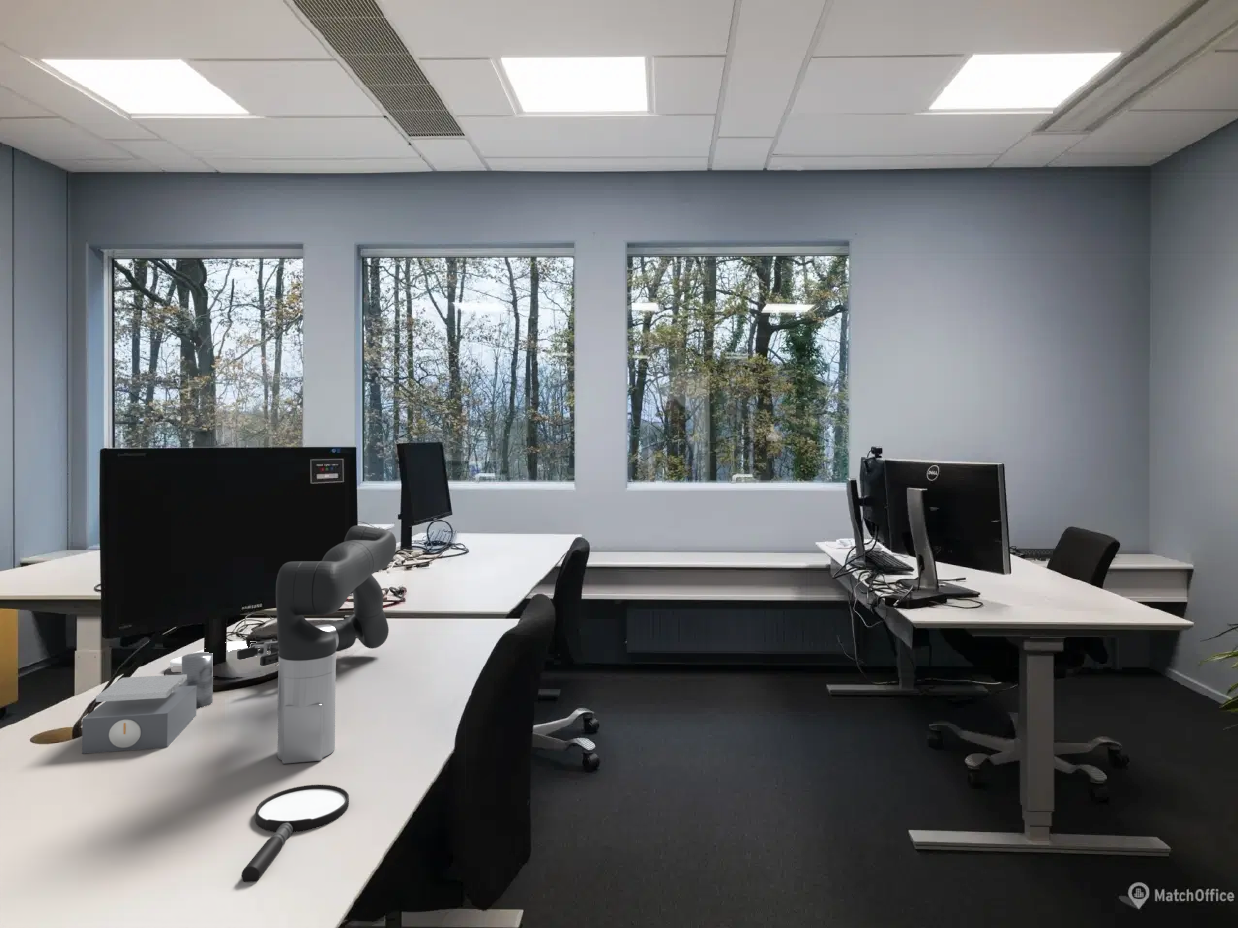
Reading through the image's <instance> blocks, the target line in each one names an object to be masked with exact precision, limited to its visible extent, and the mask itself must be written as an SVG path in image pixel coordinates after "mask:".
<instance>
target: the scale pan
mask: <svg viewBox="0 0 1238 928" xmlns="http://www.w3.org/2000/svg"><path fill="white" fill-rule="evenodd" d="M186 680H187V674H183V675H182V674H168V675H167V674H166V675H150V676H147V675H146V676H135V677H134V676H131V677H129V676H126V677H121V678H120V679H119V680H117V681H116V682H114V683H112V684H111V685H110V686H108V687H107V688H106V689H104V690H103V691H101V692H100V693H98V694H97V695H96V696H95V703H99V702H101V703H102V702H103V703H104V702H106V701H121V700H137V699H154V698H167V697H168V696H169V695H170V694H171V693H172V692H173V691H175V690H176V689H177V688H178V687H179V686H181V684H182V683H183V682H185V681H186Z"/></svg>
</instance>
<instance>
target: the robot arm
mask: <svg viewBox="0 0 1238 928" xmlns="http://www.w3.org/2000/svg"><path fill="white" fill-rule="evenodd" d="M396 551H397V539H396V537H395V535H394V533H393V532H392V531H390V530H388V529H384V528H379V527H373V526H368V525H367V526H366V525H356V524H355V525H352V526H351V527H350V528H349V529H348V530H347V533H346V535H345V537H344V540H343V542H341V543H338V544H337V545H335V546H333V547H331V548H330V549H329V550H328V551H327V552H326V553H325V554H324V556H323V558H322V559H321V560H320V561H314V560H313V561H307V560H306V561H305V560H304V561H303V560H301V561H298V560H297V561H296V560H295V561H287V562H285V563H284V564H282V566H281V567H280V568H279V570H278V573H277V575H276V577H277V578H276V581H275V607H276V608H275V609H276V623H277V624H276V628H277V629H276V631H277V632H276V638H277V640H276V638H271V639H266V640H260V641H255V642H256V643H251V644H250V647H249V648H245V649H241V650H238V651H237V659H238V660H243V659H247V658H251V657H257V656H261V657H260V666H263V667H264V666H267V665H271V664H275V663H277V662H278V663H279V664H278V665H277V666H278V673H277V674H278V677H277V679H278V680H277V750H276V751H277V755H276V756H277V758H278V759H279V760H281V763H282V764H283V765H284V764H297V763H306V762H308V763H309V762H317V761H318V762H319V761H322V760H323V758H325V757H327V756H329V755H331V754H332V753H333V752H334V751H335V748H336V689H337V688H336V685H337V684H336V681H337V677H336V676H337V675H336V674H337V673H336V672H337V671H336V669H337V652H339V651H343V650H347V649H349V648H351V647H352V646H353V645H354V644H355V642H356V639H358V640H359V642H360V643H361V644H362V645H363V646H364V647H366V648H368V649H377V648H379V647H381V646H382V645H384V643H385V642H386V640H387V639H388V637H389V624H388V620H387V617H386V614H385V612H384V611H385V610H384V592H383V589H382V587H381V585H380V583H379V582H378V581H377V578H375V577H374V576H373V575H374V574H375V573H376V572H380V571H382V570H384V569H386V568H387V567H388V566H389V565H390V564H391V562H392V561H393V559H394V556H395V554H396ZM351 594H352V597H353V599H352V600H353V613H352V614H350V615H349V616H347V617H346V618H344V619H342V620H340V621H336V622H331V623H327V624H319V625H318V624H317V625H313V624H311V623H310V622H309V621H308V620H307V619H306V618H305V616H326V615H330V614H331V615H332V614H334V613H336V612H337V611H339V610H340V609H341V608H342V607H343V606H344V604H345V603H346V601H347V600H348V598H349V597H350V595H351ZM258 648H260V649H259V650H258ZM268 651H270V654H268V653H267V652H268Z"/></svg>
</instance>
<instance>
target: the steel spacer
mask: <svg viewBox="0 0 1238 928" xmlns="http://www.w3.org/2000/svg"><path fill="white" fill-rule="evenodd" d="M191 653H192V654H190V653H188V654H185V655H182V656H183V657H182V673H181V675H183V674H187V680H186V681H185V682H183V683H182V684H181V685H180V686H196V685H197V694H196V709H200V707H201V708H205V707H208V706H210V705H212V704H213V701H214V699H213V696H214V691H213V689H214V686H213V685H214V683H213V682H214V681H213V680H214V677H213V653H209V652H199V653H194V652H191ZM211 703H212V704H211ZM207 705H208V706H207ZM204 706H205V707H204Z"/></svg>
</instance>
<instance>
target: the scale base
mask: <svg viewBox="0 0 1238 928" xmlns="http://www.w3.org/2000/svg"><path fill="white" fill-rule="evenodd" d="M196 694H197V685H196V686H181V685H180V686H179V687H178V688H177V689H176V690H175V691H173V692H172V693H171V694H170V695H169V696H168V697H167V698H154V699H137V700H121V701H104V702H103V703H102V704H101V705H99V706H97V708H95V709H93V710H92V711H91V712H90V713H88V714H87V715H86V716H84V717H83V718H82V719H81V720H82V721H81V723H82V728H81V729H82V730H81V731H82V733H81V736H82V737H81V742H82V743H81V754H94V753H95V754H97V753H107V752H109V753H110V752H122V751H123V752H124V751H133V750H134V751H135V750H149V749H150V750H151V749H161V748H163V749H164V748H168V747H169V746H170V745H171V744H172V743H173V742H174V741H175V740H176V738H177V737H178V736H179V735H180V734H181V733H182V732H183V731H184V730H185V728H187V727H188V725H189V724H190V723H191V722H192V721H193V720H194V719H195V718H196V717H197V708H196ZM195 716H196V717H195ZM194 717H195V718H194ZM193 718H194V719H193Z"/></svg>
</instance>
